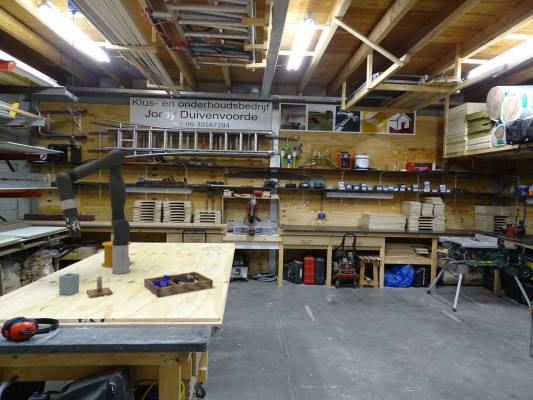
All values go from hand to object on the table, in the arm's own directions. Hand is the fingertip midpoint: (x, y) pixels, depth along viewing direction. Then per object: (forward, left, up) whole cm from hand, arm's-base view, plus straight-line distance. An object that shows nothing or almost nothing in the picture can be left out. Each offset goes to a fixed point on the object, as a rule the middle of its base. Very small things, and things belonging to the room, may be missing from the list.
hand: (76, 237), depth 189 cm
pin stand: (-6, +29, -25) cm, 39 cm away
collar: (+6, +20, -25) cm, 33 cm away
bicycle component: (-48, +39, -25) cm, 67 cm away
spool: (-28, -32, -25) cm, 49 cm away
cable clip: (-33, +39, -25) cm, 57 cm away
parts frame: (-42, +39, -25) cm, 63 cm away
